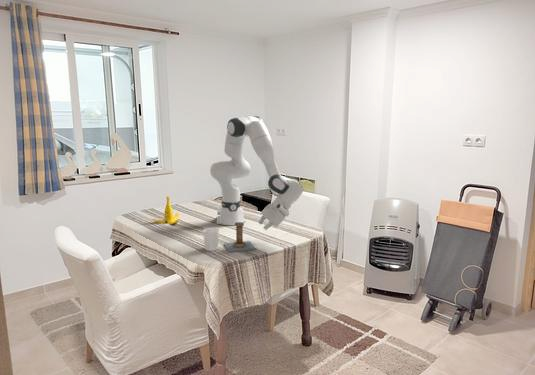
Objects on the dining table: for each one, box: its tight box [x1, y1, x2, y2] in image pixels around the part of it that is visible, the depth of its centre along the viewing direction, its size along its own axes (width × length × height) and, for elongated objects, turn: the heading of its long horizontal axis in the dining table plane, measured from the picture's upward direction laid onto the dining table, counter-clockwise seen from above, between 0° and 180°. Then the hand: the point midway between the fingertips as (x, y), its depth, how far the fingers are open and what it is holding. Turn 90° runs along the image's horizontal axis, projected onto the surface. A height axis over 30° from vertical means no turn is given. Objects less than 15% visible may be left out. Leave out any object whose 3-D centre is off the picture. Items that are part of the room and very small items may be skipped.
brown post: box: [233, 222, 245, 248], centre depth 201 cm, size 6×6×12 cm
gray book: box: [223, 240, 257, 253], centre depth 202 cm, size 12×14×1 cm
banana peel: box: [151, 195, 179, 225], centre depth 249 cm, size 16×19×17 cm
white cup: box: [202, 227, 220, 252], centre depth 199 cm, size 8×8×10 cm
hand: (262, 226), depth 205 cm, fingers open, 8 cm apart
